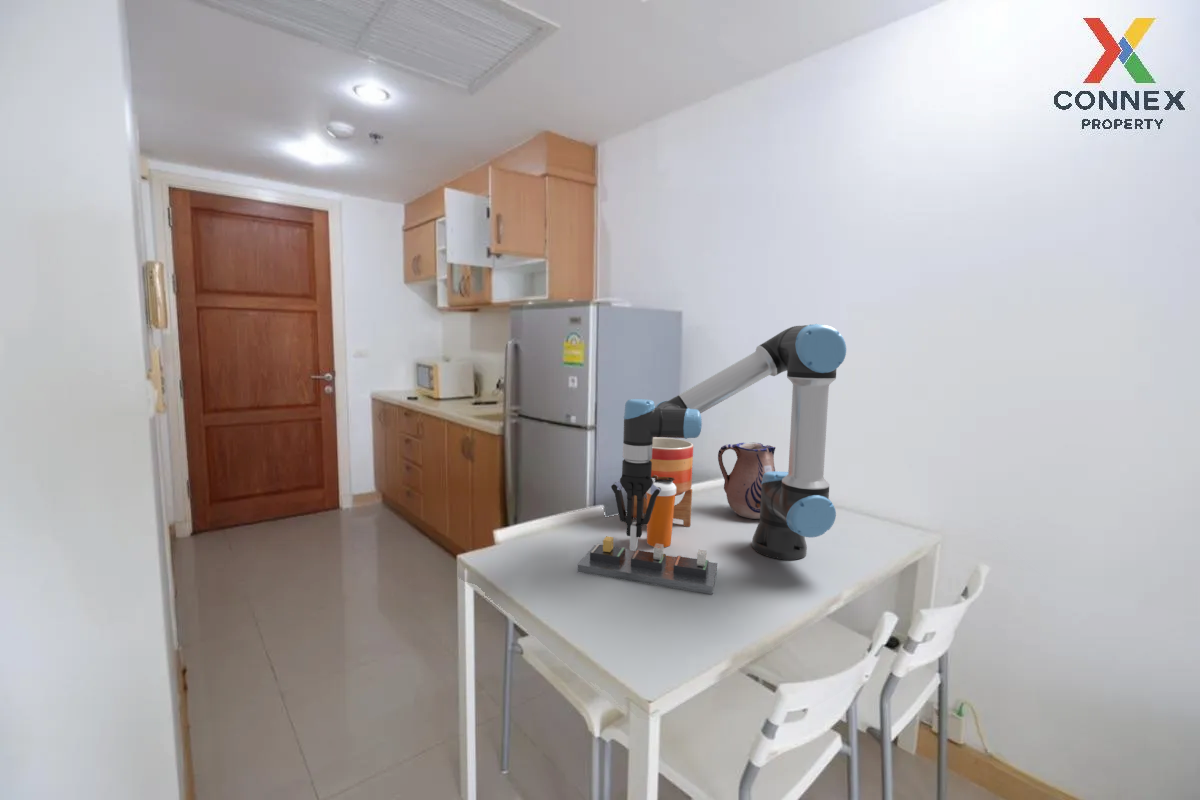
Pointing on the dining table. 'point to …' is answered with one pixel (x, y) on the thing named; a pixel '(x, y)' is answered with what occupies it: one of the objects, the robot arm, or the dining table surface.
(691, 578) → the breaker panel
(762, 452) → the ceramic pitcher
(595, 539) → the dining table surface
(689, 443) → the planter
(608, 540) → the toggle
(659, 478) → the shaker bottle
